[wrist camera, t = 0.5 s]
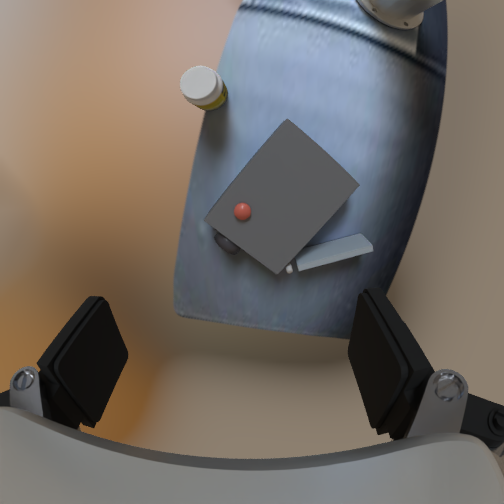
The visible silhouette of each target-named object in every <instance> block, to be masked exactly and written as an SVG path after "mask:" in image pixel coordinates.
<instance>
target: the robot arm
mask: <svg viewBox="0 0 504 504" xmlns="http://www.w3.org/2000/svg"><path fill="white" fill-rule="evenodd" d="M357 1H358V2H359V4H360V5H361V6H362V7H363V8H364V9H365V10H366V11H367V12H368V13H369V14H370V15H371V16H373V17H374V18H375V19H377V20H378V21H380V22H382V23H384V24H385V25H388V26H390V27H393V28H396V29H402V30H410V29H413V28H415V27H417V26H418V25H419V24H420V23H421V22H422V20H423V15H424V14H423V11H425V10H426V9H428V8H430V7H432V6H434V5H435V4H437V3H439V2H441V1H443V0H357ZM348 357H349V360H350V363H351V366H352V369H353V371H354V375H355V378H356V381H357V384H358V387H359V390H360V393H361V396H362V399H363V403H364V406H365V409H366V412H367V416H368V419H369V422H370V425H371V427H372V428H376V431H377V434H378V435H381V434H384V433H388V432H389V435H390V438H392V440H391V442H387V443H382V444H377V445H373V446H369V447H364V448H359V449H353V450H348V451H342V452H335V453H328V454H320V455H312V456H303V457H291V458H275V459H227V458H210V457H198V456H189V455H180V454H174V453H166V452H161V451H155V450H150V449H145V448H140V447H135V446H131V445H127V444H122V443H118V442H114V441H111V440H107V439H103V438H100V437H97V436H94V435H90V434H87V433H84V432H81V430H80V427H79V425H80V422H81V423H82V424H83V425H85V426H88V427H91V428H94V427H95V425H96V422H98V421H100V419H101V417H102V414H103V412H104V410H105V407H106V405H107V403H108V401H109V398H110V396H111V394H112V392H113V389H114V387H115V385H116V382H117V380H118V379H119V376H120V374H121V372H122V370H123V368H124V366H125V364H126V361H127V359H128V351H127V348H126V346H125V344H124V341H123V339H122V337H121V334H120V332H119V329H118V327H117V325H116V322H115V319H114V317H113V314H112V311H111V309H110V306H109V303H108V302H107V301H106V300H105V299H104V298H103V297H99V296H98V297H97V296H90V297H88V298H87V299H86V300H85V302H84V303H83V304H82V305H81V306H80V308H79V309H78V310H77V311H76V312H75V314H74V315H73V316H72V317H71V318H70V320H69V321H68V322H67V323H66V325H65V326H64V327H63V329H62V330H61V331H60V333H59V334H58V335H57V336H56V337H55V339H54V340H53V342H52V343H51V344H50V345H49V347H48V348H47V349H46V351H45V352H44V354H43V355H42V356H41V358H40V359H39V361H38V362H37V365H38V366H39V368H40V371H39V373H38V371H37V370H36V369H35V368H34V367H30V366H27V367H23V368H21V369H19V370H18V371H17V372H16V373H15V374H14V375H13V377H12V379H11V381H10V389H9V390H7V391H5V392H2V393H0V504H504V406H503V405H500V404H497V403H494V402H491V401H488V400H486V399H483V398H480V397H477V396H475V395H472V394H469V393H468V385H467V382H466V380H465V379H464V377H463V376H462V375H460V374H459V373H458V372H455V371H453V370H449V369H442V370H439V371H436V372H435V371H434V370H433V368H432V366H431V364H430V363H429V361H428V359H427V358H426V356H425V355H424V353H423V351H422V349H421V348H420V346H419V344H418V343H417V341H416V340H415V338H414V336H413V335H412V333H411V332H410V330H409V328H408V327H407V325H406V324H405V323H404V322H403V321H402V319H401V318H400V316H399V315H398V313H397V312H396V310H395V308H394V307H393V305H392V304H391V303H390V301H389V300H388V298H387V297H386V295H385V294H384V292H383V291H382V289H381V288H368V289H364V291H363V293H360V294H359V295H358V301H357V306H356V312H355V317H354V322H353V327H352V332H351V337H350V342H349V346H348Z"/></svg>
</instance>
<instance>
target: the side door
mask: <svg viewBox="0 0 504 504" xmlns="http://www.w3.org/2000/svg"><path fill="white" fill-rule="evenodd" d="M371 251H373V245H372V244H371V243H370V242H369V241H368V240H367V239H366V238H365V237H364V236H363V235H362V234H361V233H360V234H356V235H352V236H348V237H345V238H341V239H337V240H333V241H329V242H326V243H322V244H318V245H314V246H310V247H307V248H303V249H301V250H300V251H299V252H298V253H297V255H296V256H295V260H296V263H297V267H298V270H299V271H301V270H305V269H309V268H313V267H317V266H320V265H324V264H328V263H332V262H335V261H339V260H343V259H346V258H350V257H353V256H357V255H361V254H364V253H368V252H371Z"/></svg>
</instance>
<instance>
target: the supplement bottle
mask: <svg viewBox="0 0 504 504" xmlns="http://www.w3.org/2000/svg"><path fill="white" fill-rule="evenodd" d="M180 88H181V91H182V93H183V95H184V97H185V98H186V99H187V101H189V102H190V103H192V104H193V105H195V106H197V107H199V108H200V109H202V110H206V111H212V110H216V109H218V108H220V107H221V106H222V105H223V104H224V103H225V101H226V99H227V95H228V91H227V88H226V86H225V84H224V82H223V80H222V78H221V77H220V75H219V74H218V73H217V72H215V71H214V70H212V69H210V68H208V67H205V66H195V67H192V68H190V69H189V70H187V71H186V72H185V73H184V74H183V76H182V78H181V81H180Z"/></svg>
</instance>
